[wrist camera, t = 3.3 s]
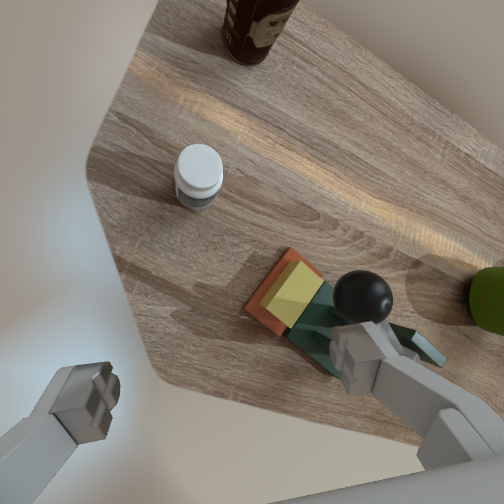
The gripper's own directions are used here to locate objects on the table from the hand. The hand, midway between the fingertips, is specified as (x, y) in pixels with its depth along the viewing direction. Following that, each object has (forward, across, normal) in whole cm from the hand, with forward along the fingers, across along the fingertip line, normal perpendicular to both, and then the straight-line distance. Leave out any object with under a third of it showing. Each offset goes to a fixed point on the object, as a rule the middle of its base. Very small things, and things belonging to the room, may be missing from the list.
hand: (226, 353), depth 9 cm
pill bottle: (+25, +3, 0) cm, 25 cm away
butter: (+19, -7, +13) cm, 24 cm away
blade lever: (+8, -11, +8) cm, 16 cm away
